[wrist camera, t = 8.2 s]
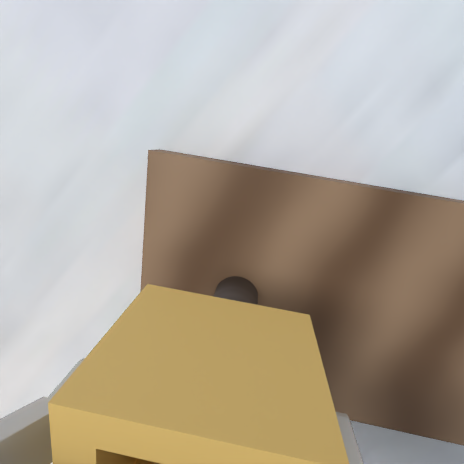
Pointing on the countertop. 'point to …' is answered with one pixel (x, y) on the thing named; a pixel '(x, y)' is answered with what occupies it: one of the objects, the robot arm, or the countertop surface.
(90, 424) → the sleeve
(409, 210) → the base plate
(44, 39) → the countertop surface
